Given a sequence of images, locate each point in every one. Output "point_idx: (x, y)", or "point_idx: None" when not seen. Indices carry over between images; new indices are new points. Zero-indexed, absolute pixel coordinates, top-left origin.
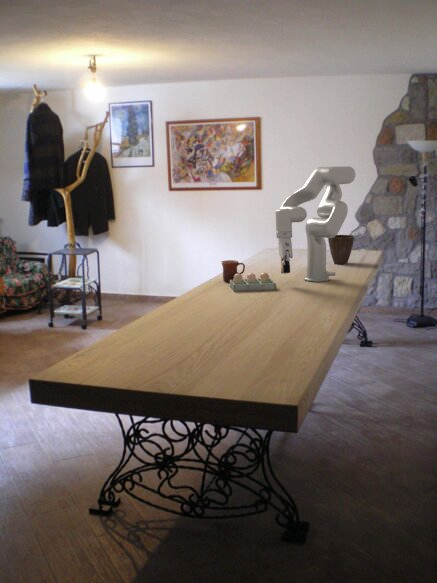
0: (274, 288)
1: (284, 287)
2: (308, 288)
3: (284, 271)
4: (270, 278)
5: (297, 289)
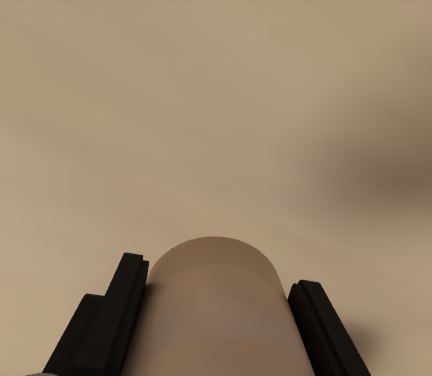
0: None
1: (258, 248)
2: (416, 60)
3: None
4: None
5: (396, 182)
